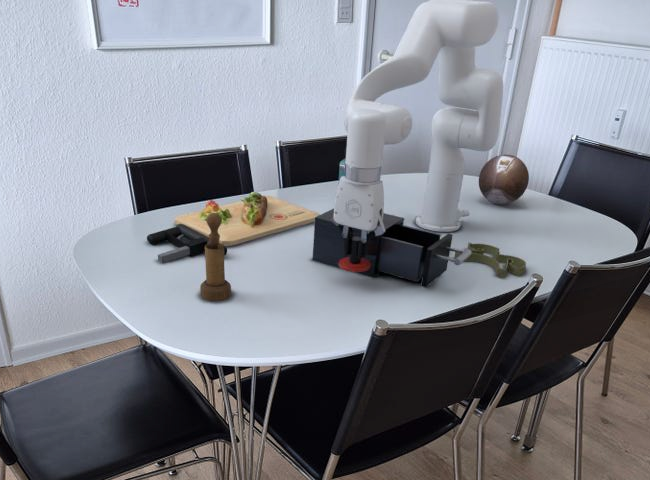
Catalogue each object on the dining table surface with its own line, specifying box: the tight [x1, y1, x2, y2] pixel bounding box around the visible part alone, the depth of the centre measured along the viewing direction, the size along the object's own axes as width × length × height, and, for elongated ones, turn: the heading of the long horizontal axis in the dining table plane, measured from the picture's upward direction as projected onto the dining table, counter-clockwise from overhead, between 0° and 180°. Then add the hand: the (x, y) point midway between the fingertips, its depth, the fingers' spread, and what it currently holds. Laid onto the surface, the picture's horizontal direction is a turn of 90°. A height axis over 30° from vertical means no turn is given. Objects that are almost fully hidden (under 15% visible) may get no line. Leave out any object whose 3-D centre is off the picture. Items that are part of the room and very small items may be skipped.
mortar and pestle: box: [199, 213, 232, 302], centre depth 135 cm, size 7×6×18 cm
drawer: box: [376, 224, 472, 288], centre depth 150 cm, size 22×13×9 cm, turn 58°
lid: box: [338, 237, 371, 273], centre depth 145 cm, size 7×7×6 cm
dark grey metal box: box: [312, 207, 405, 278], centre depth 158 cm, size 17×14×11 cm
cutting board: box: [173, 191, 321, 247], centre depth 178 cm, size 35×23×8 cm
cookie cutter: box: [453, 242, 527, 278], centre depth 162 cm, size 18×12×2 cm, turn 43°
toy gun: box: [146, 224, 229, 264], centre depth 159 cm, size 3×20×16 cm
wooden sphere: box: [478, 154, 530, 205], centre depth 203 cm, size 15×15×15 cm
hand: (355, 254), depth 145 cm, fingers closed on lid, 2 cm apart
